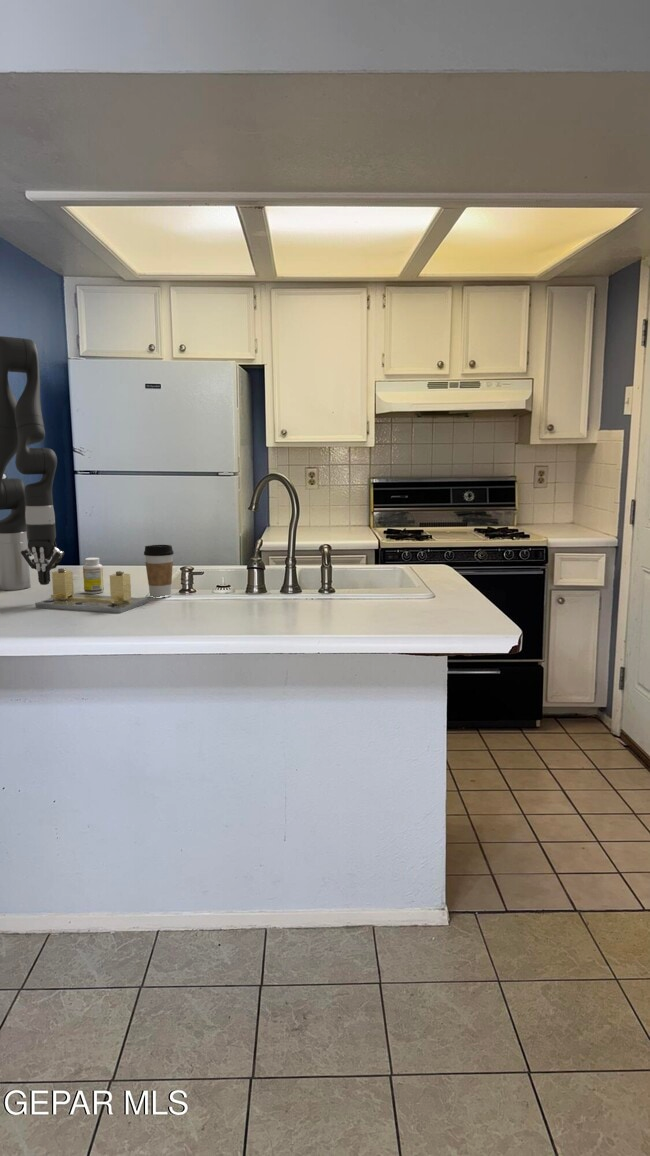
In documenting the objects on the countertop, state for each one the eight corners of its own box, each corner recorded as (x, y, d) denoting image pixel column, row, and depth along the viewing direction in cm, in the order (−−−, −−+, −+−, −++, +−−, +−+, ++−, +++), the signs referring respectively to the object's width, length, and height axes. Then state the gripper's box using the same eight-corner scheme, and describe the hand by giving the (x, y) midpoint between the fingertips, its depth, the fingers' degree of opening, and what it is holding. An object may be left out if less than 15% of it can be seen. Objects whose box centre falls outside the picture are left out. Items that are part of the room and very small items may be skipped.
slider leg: (47, 600, 209) (45, 571, 207) (61, 596, 215) (59, 567, 214) (59, 601, 208) (57, 571, 206) (74, 596, 214) (72, 568, 212)
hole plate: (35, 607, 207) (35, 602, 207) (67, 597, 221) (66, 593, 220) (120, 613, 200) (120, 608, 200) (147, 602, 213) (147, 598, 213)
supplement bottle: (92, 590, 232) (90, 556, 230) (107, 591, 230) (105, 557, 228) (80, 593, 227) (78, 559, 225) (96, 594, 225) (94, 560, 223)
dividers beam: (44, 601, 209) (42, 571, 208) (58, 597, 215) (56, 567, 214) (121, 606, 202) (120, 575, 201) (134, 601, 208) (133, 571, 207)
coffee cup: (140, 598, 219) (138, 546, 216) (153, 593, 227) (151, 542, 224) (167, 599, 217) (165, 547, 214) (180, 594, 225) (178, 543, 222)
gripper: (10, 522, 209) (15, 585, 212) (52, 523, 205) (56, 587, 208) (29, 520, 216) (33, 581, 219) (69, 521, 212) (73, 583, 215)
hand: (44, 584), depth 213 cm, fingers closed
